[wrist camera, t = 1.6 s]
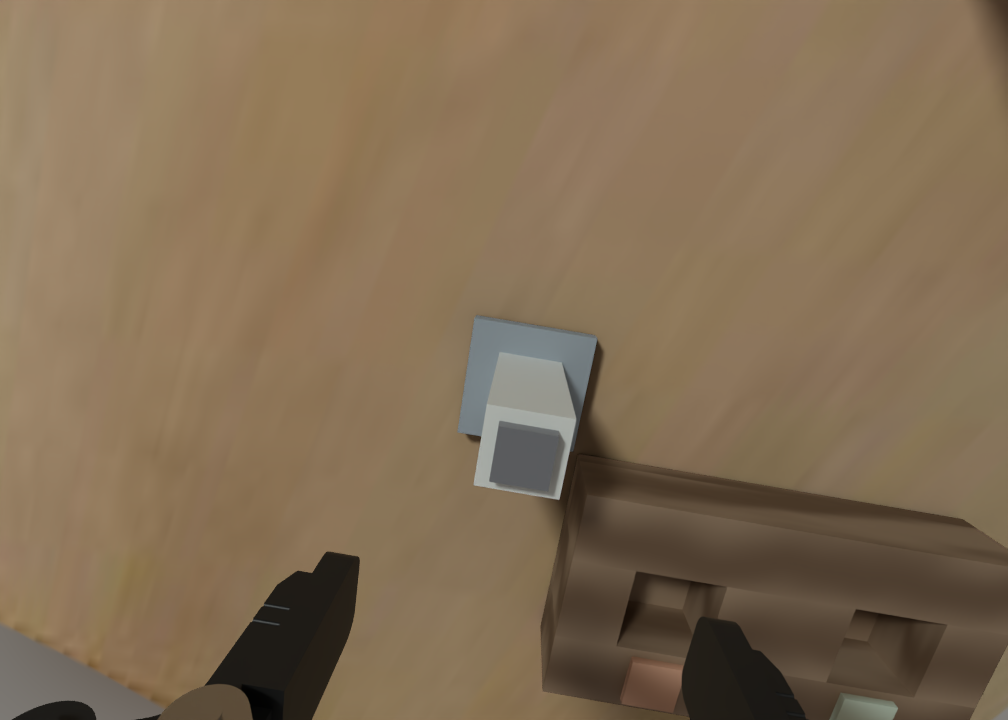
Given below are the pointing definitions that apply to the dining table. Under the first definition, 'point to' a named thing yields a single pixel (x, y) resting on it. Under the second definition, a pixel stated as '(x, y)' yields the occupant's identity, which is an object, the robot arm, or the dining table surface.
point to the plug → (526, 428)
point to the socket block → (770, 594)
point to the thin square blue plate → (526, 342)
